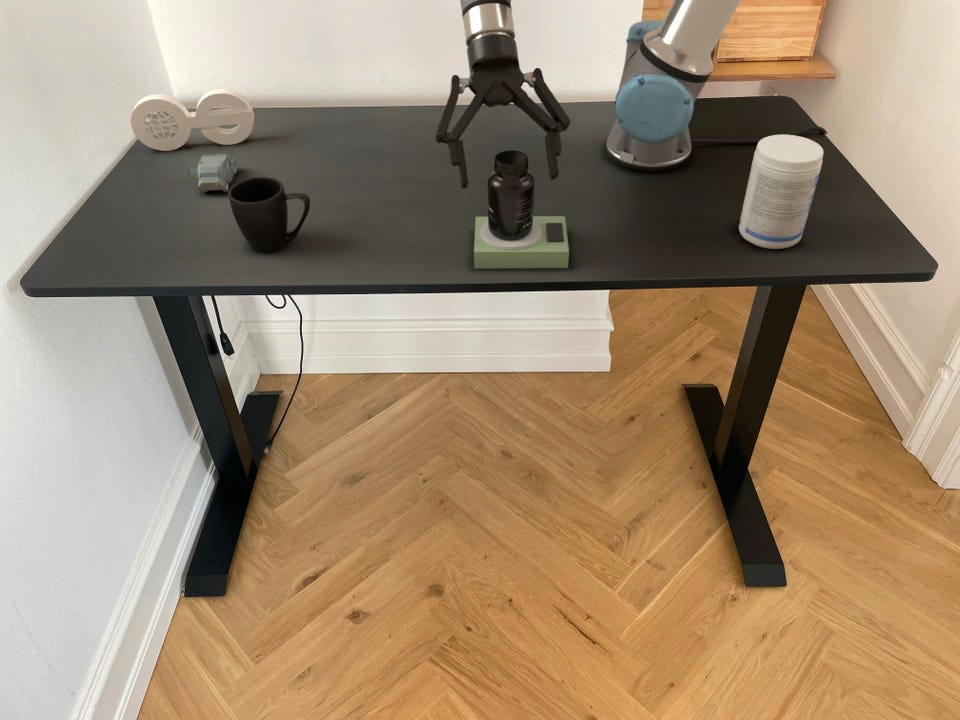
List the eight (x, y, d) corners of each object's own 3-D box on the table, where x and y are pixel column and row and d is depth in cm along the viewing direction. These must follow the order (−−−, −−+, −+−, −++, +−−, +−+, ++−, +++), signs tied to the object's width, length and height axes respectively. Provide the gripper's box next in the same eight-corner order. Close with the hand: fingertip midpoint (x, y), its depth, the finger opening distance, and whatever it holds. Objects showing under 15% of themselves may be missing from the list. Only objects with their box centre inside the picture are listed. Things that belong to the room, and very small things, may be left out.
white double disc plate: (140, 153, 148) (123, 102, 142) (141, 148, 150) (125, 97, 143) (258, 141, 151) (247, 90, 144) (258, 136, 153) (247, 86, 146)
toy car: (238, 169, 143) (232, 144, 139) (226, 196, 135) (219, 170, 132) (203, 169, 143) (196, 145, 139) (189, 197, 135) (181, 171, 132)
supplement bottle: (478, 230, 118) (476, 158, 111) (508, 213, 122) (508, 141, 114) (512, 247, 115) (513, 173, 107) (542, 228, 119) (545, 155, 111)
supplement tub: (812, 247, 120) (839, 158, 110) (755, 255, 118) (778, 166, 109) (780, 215, 127) (803, 129, 117) (726, 223, 126) (745, 137, 116)
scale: (564, 232, 124) (565, 212, 122) (567, 268, 117) (569, 248, 114) (476, 232, 125) (475, 213, 122) (474, 268, 117) (473, 248, 115)
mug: (309, 260, 120) (298, 206, 113) (234, 256, 121) (219, 202, 115) (323, 231, 126) (314, 178, 120) (252, 228, 127) (239, 175, 121)
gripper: (566, 48, 123) (585, 180, 121) (408, 62, 120) (426, 197, 119) (577, 25, 115) (597, 165, 114) (408, 38, 112) (427, 182, 111)
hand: (510, 181), depth 116 cm, fingers open, 13 cm apart
